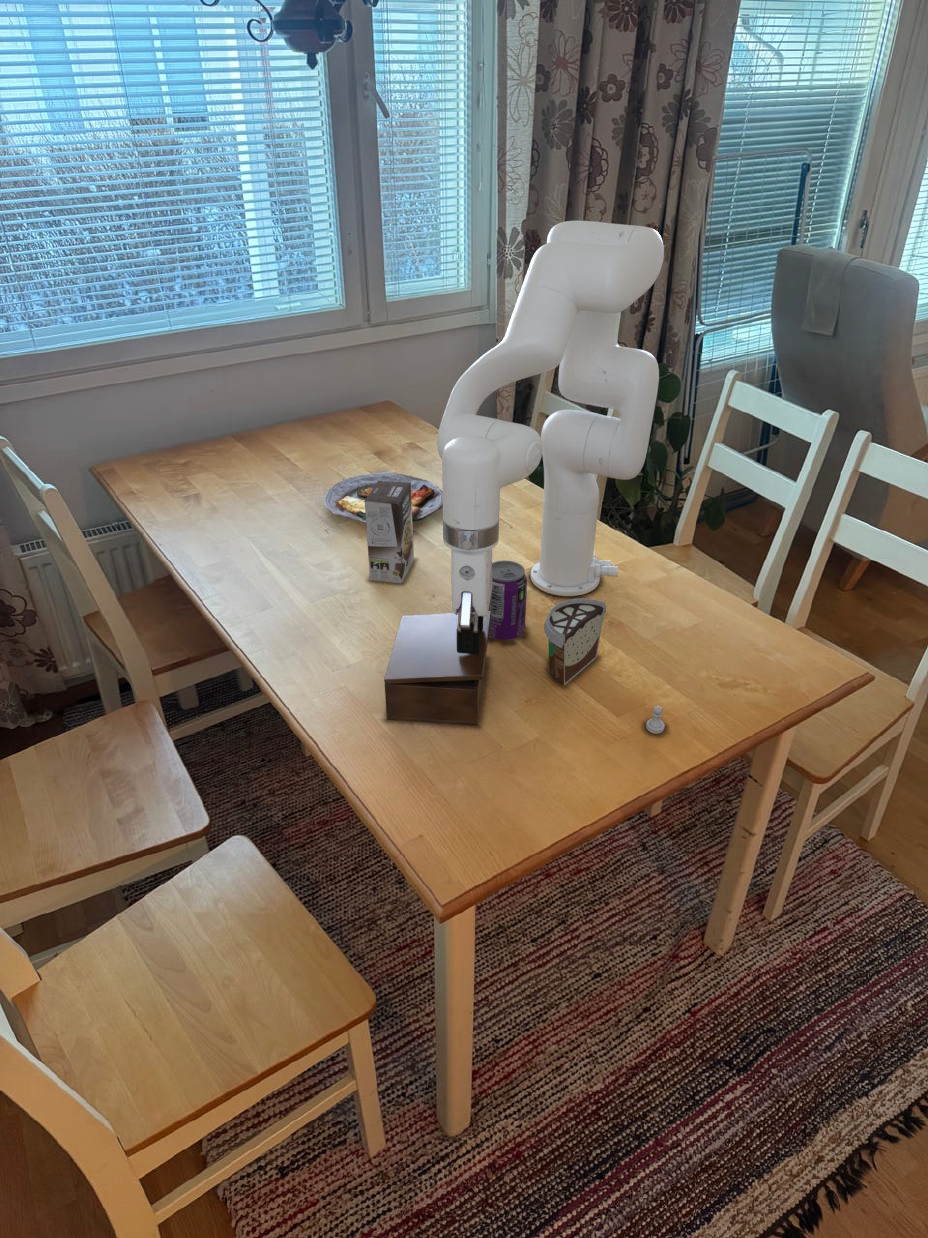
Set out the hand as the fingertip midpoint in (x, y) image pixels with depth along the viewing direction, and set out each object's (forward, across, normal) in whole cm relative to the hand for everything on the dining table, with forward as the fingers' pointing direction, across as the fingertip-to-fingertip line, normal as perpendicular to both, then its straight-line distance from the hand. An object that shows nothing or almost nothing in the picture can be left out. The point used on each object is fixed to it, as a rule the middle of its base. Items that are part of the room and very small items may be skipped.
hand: (470, 639), depth 124 cm
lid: (+2, 0, +4) cm, 5 cm away
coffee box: (+9, +34, +18) cm, 40 cm away
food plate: (+9, +60, +24) cm, 65 cm away
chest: (+9, 0, +5) cm, 11 cm away
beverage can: (+10, +16, -4) cm, 19 cm away
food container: (+10, +8, -14) cm, 19 cm away
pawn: (+10, -6, -27) cm, 29 cm away
